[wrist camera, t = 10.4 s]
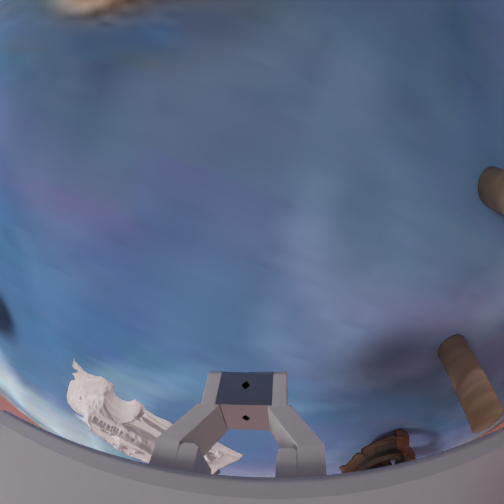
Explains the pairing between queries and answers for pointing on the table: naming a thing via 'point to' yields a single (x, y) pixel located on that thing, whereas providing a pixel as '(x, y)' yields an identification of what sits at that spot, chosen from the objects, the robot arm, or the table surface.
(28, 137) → the table surface
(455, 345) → the post
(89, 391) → the terrain model
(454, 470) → the robot arm
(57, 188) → the table surface
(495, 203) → the post
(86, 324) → the table surface
